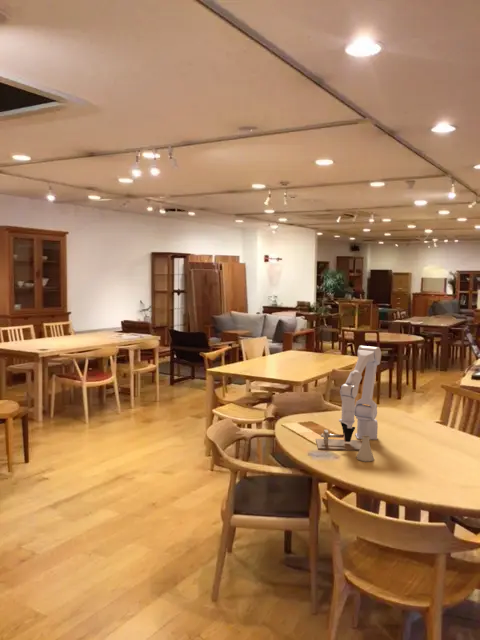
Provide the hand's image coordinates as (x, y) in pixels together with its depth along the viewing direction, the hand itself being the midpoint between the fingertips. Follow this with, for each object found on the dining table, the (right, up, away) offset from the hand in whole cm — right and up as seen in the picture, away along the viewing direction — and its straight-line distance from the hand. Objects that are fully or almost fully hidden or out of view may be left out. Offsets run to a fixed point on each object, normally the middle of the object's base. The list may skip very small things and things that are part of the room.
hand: (347, 439), depth 265 cm
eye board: (-3, -3, 0) cm, 4 cm away
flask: (+4, -5, -18) cm, 19 cm away
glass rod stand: (-5, -1, 0) cm, 5 cm away
